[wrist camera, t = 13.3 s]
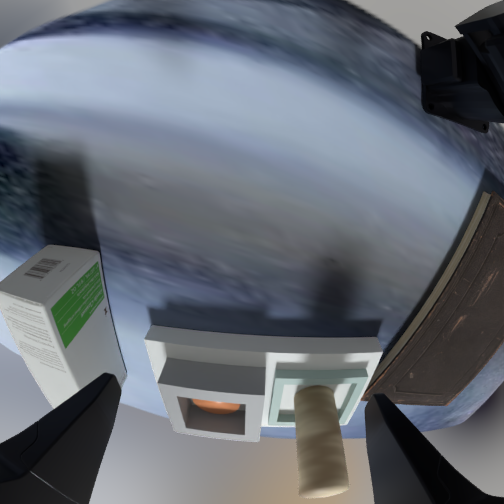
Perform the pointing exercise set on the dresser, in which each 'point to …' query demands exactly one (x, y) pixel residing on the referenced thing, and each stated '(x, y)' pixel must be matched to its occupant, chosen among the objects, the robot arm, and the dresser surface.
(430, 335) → the hardcover book
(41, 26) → the dresser surface
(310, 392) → the beige cylindrical rod
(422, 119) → the dresser surface
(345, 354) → the panel
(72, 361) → the skincare box
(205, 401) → the button
